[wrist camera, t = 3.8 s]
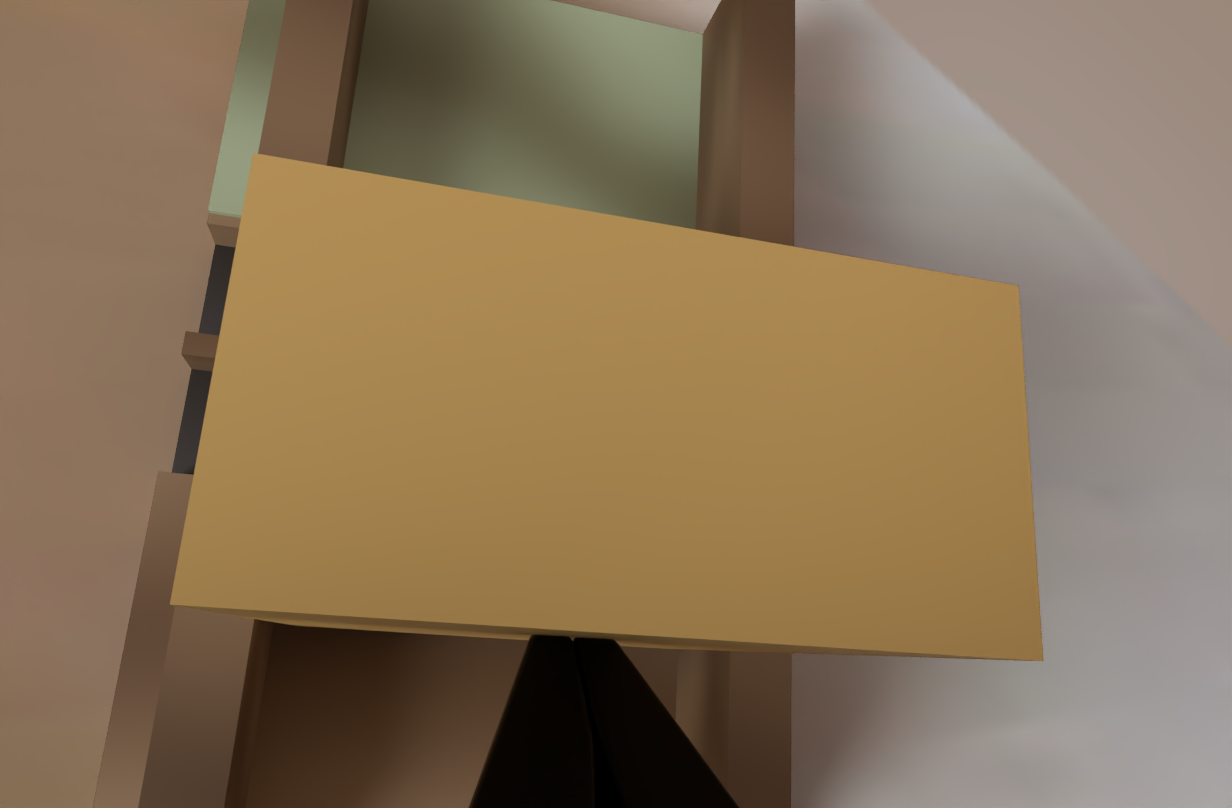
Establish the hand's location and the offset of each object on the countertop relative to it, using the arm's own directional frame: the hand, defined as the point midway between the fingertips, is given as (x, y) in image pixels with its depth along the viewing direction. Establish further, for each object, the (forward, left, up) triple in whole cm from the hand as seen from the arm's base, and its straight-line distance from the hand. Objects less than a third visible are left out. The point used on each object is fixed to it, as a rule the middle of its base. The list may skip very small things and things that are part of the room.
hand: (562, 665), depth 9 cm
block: (+1, -1, -6) cm, 6 cm away
